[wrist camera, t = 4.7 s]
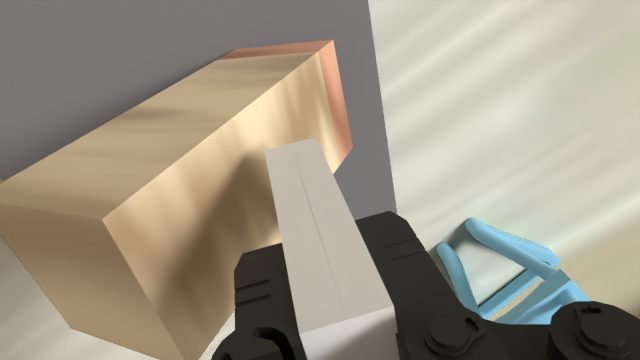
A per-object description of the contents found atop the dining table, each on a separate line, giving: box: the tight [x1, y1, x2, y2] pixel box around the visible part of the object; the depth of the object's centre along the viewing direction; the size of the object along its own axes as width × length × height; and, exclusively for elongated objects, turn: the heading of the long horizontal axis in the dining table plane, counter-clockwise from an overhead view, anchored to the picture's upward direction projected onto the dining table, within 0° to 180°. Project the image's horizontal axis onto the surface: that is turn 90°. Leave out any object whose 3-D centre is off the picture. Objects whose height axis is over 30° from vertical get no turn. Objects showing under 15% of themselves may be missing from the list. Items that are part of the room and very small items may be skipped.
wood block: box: [0, 40, 353, 360], centre depth 15 cm, size 5×5×12 cm
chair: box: [436, 218, 591, 324], centre depth 25 cm, size 8×8×12 cm
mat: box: [0, 0, 397, 220], centre depth 21 cm, size 20×19×1 cm
